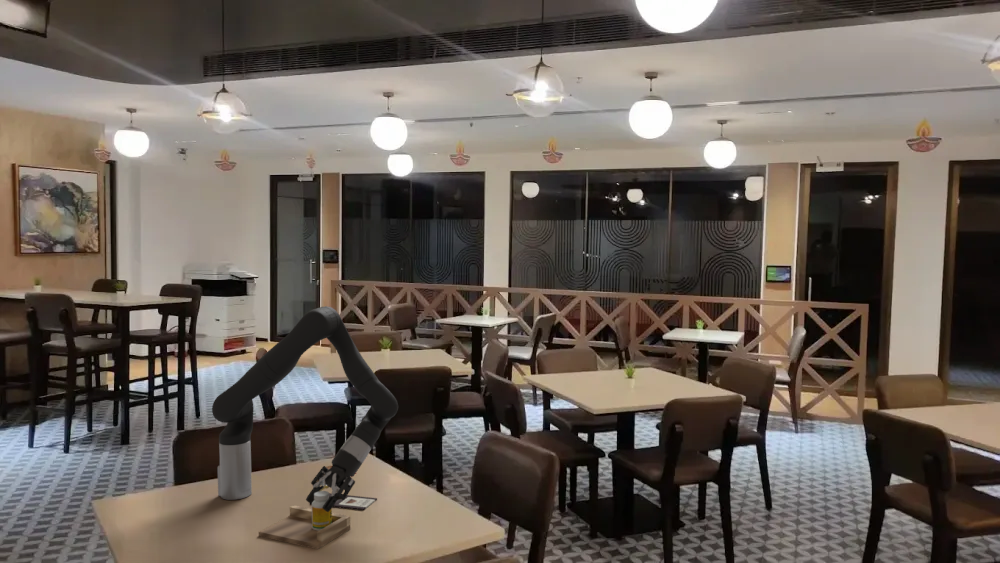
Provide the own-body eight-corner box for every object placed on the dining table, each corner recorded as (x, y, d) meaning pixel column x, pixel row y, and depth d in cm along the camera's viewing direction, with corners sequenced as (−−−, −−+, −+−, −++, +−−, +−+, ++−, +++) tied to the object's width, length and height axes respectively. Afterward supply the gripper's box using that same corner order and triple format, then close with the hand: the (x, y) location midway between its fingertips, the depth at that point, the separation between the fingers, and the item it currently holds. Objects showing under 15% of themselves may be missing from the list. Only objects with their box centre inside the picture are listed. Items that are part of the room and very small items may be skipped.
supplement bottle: (310, 525, 195) (309, 491, 194) (329, 522, 197) (329, 488, 196) (314, 532, 190) (313, 498, 189) (333, 529, 192) (333, 494, 192)
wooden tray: (258, 536, 191) (258, 523, 191) (293, 517, 204) (293, 505, 203) (317, 549, 183) (317, 535, 182) (350, 528, 195) (350, 516, 195)
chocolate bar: (324, 492, 222) (376, 498, 217) (324, 495, 222) (376, 501, 217) (309, 502, 214) (363, 508, 209) (309, 505, 214) (363, 511, 209)
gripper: (329, 443, 202) (294, 492, 195) (358, 453, 192) (321, 506, 185) (345, 457, 206) (311, 506, 199) (374, 468, 196) (339, 520, 189)
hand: (316, 506), depth 192 cm, fingers open, 8 cm apart
